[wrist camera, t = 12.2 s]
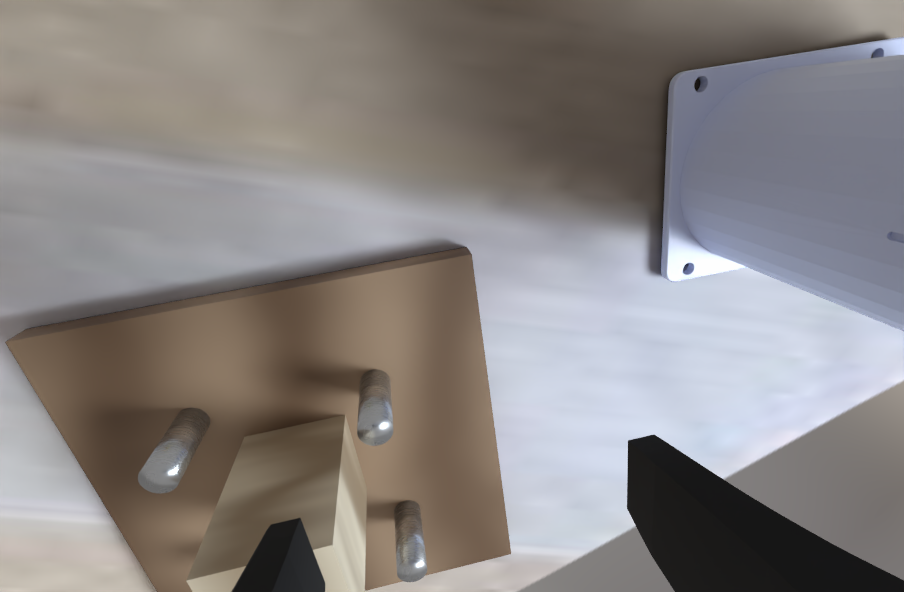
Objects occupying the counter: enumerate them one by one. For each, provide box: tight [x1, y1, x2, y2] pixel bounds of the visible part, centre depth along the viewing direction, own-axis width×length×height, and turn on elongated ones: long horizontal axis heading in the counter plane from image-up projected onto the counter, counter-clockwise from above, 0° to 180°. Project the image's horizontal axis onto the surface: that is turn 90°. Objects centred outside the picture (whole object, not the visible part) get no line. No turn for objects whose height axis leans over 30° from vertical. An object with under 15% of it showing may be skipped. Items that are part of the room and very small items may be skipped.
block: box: [186, 415, 367, 592], centre depth 16 cm, size 4×4×6 cm
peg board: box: [5, 247, 511, 592], centre depth 18 cm, size 16×16×4 cm
